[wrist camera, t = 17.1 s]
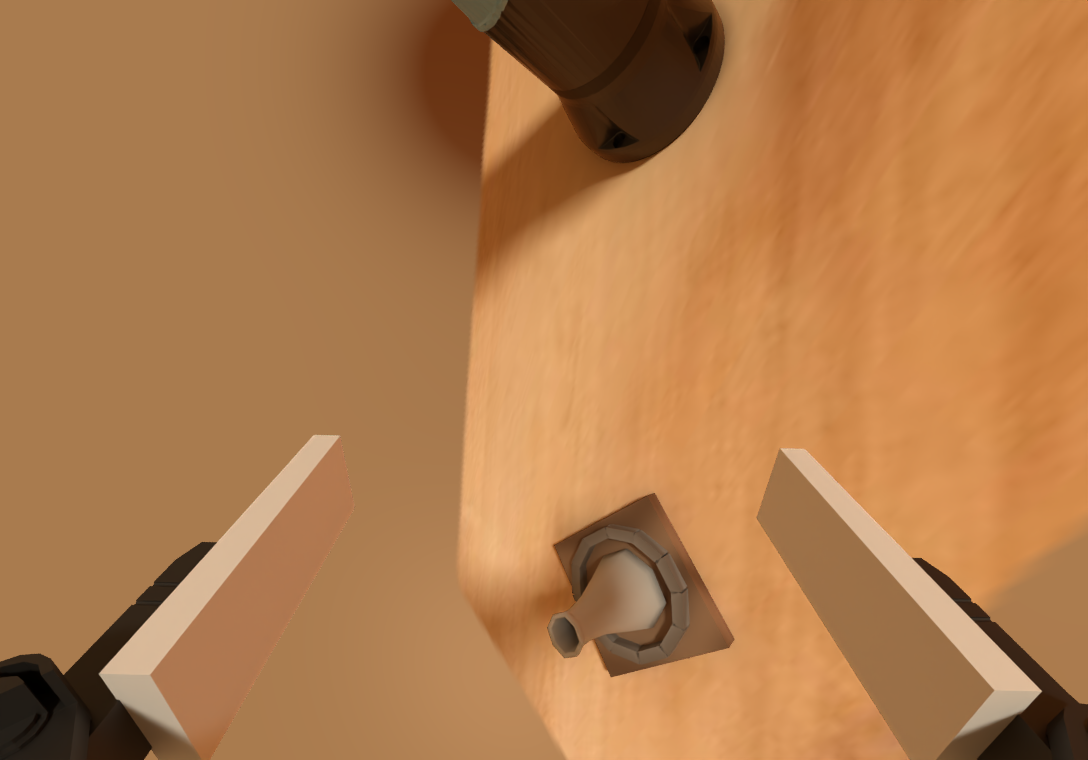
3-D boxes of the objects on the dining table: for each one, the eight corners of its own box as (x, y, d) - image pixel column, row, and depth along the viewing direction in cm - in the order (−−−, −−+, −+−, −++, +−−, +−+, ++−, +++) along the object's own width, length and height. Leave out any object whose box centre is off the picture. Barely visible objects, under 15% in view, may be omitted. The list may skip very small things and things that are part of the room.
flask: (629, 644, 39) (564, 704, 32) (584, 573, 43) (515, 612, 35) (682, 606, 36) (623, 663, 28) (628, 533, 40) (563, 567, 32)
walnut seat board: (562, 541, 46) (547, 548, 44) (654, 493, 40) (641, 498, 38) (618, 669, 42) (604, 683, 39) (734, 639, 35) (724, 654, 33)
